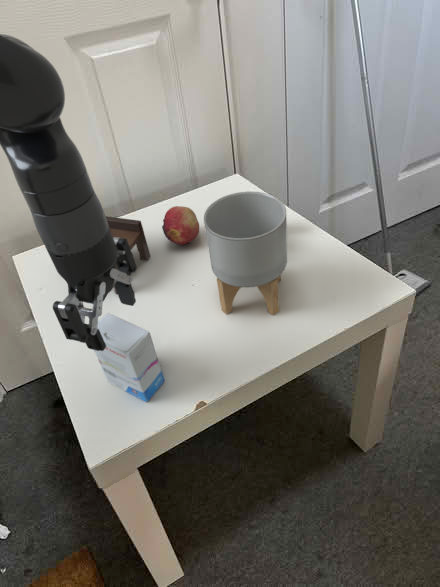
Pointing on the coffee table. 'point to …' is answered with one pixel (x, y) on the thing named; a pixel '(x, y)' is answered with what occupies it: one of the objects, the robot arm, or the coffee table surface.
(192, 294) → the coffee table surface
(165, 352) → the coffee table surface
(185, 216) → the fruit
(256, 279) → the planter
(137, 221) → the small wooden stool
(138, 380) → the ink box
